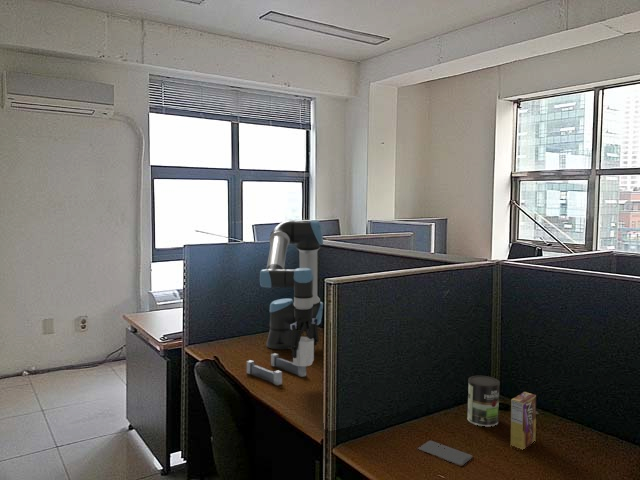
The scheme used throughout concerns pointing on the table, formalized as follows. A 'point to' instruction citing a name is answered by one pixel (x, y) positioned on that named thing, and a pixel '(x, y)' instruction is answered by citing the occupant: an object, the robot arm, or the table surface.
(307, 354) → the white cup
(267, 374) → the channel guide
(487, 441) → the table surface
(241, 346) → the table surface
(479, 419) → the coffee can
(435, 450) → the smartphone
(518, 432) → the candy box
